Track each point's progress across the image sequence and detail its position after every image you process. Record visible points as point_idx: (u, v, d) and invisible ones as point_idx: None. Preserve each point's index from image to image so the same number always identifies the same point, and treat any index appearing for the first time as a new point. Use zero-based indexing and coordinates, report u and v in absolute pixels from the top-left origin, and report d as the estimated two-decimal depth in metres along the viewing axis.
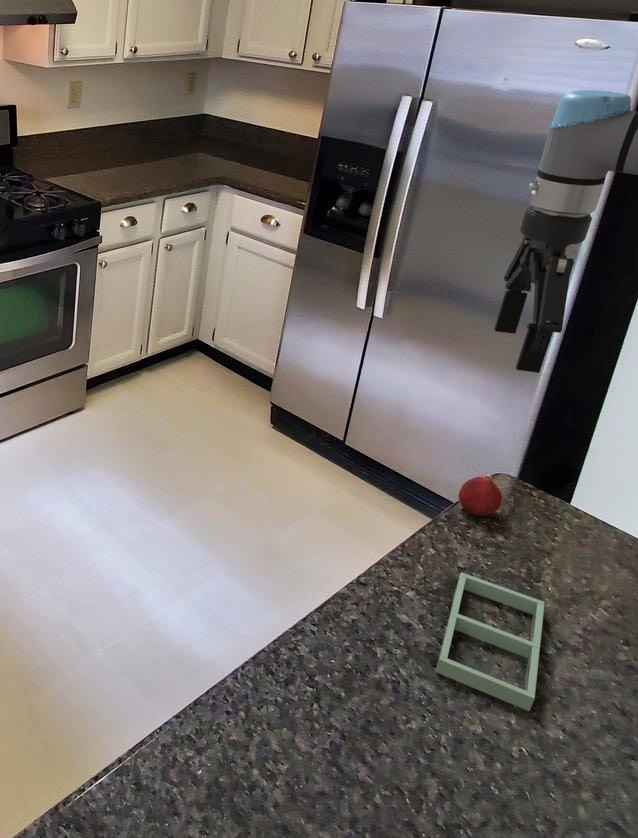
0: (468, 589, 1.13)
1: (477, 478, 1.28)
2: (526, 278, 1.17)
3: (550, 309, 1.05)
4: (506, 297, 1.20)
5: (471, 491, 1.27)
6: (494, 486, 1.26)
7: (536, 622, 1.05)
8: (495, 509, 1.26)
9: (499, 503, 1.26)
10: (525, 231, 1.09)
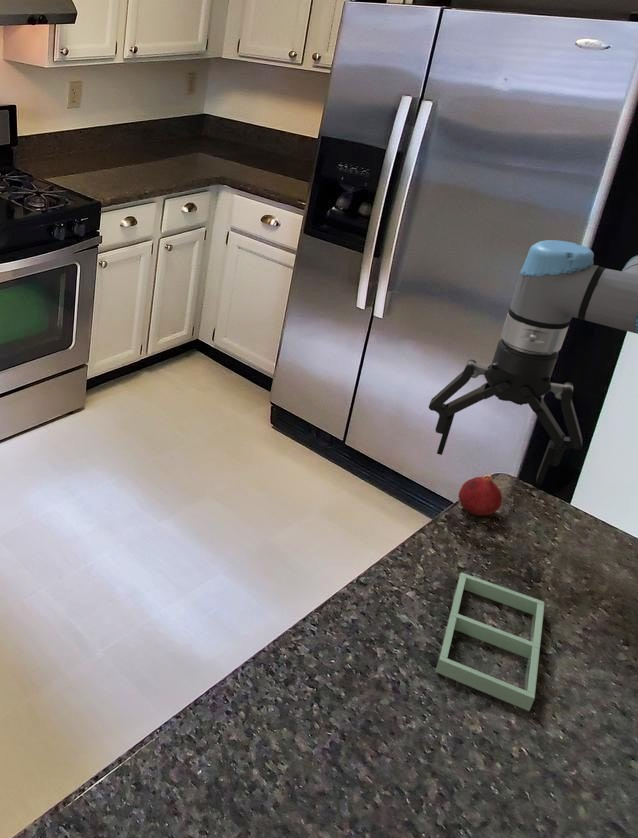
0: (468, 589, 1.13)
1: (477, 478, 1.28)
2: None
3: (578, 429, 1.17)
4: (451, 424, 1.26)
5: (471, 491, 1.27)
6: (494, 486, 1.26)
7: (536, 622, 1.05)
8: (495, 509, 1.26)
9: (499, 503, 1.26)
10: (530, 375, 1.15)
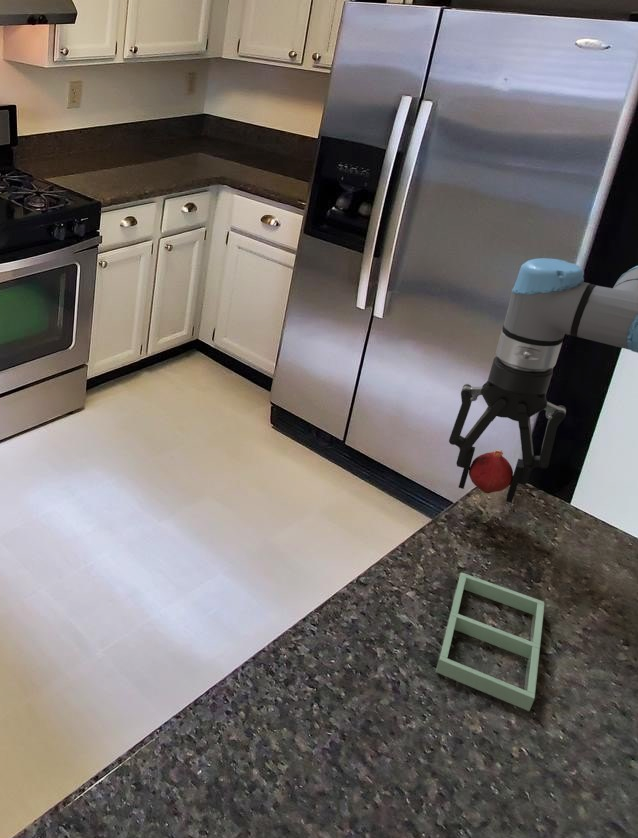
0: (468, 589, 1.13)
1: (487, 454, 1.26)
2: None
3: (551, 450, 1.20)
4: None
5: (482, 467, 1.25)
6: (505, 461, 1.24)
7: (536, 622, 1.05)
8: (506, 485, 1.24)
9: (510, 478, 1.24)
10: (526, 391, 1.16)
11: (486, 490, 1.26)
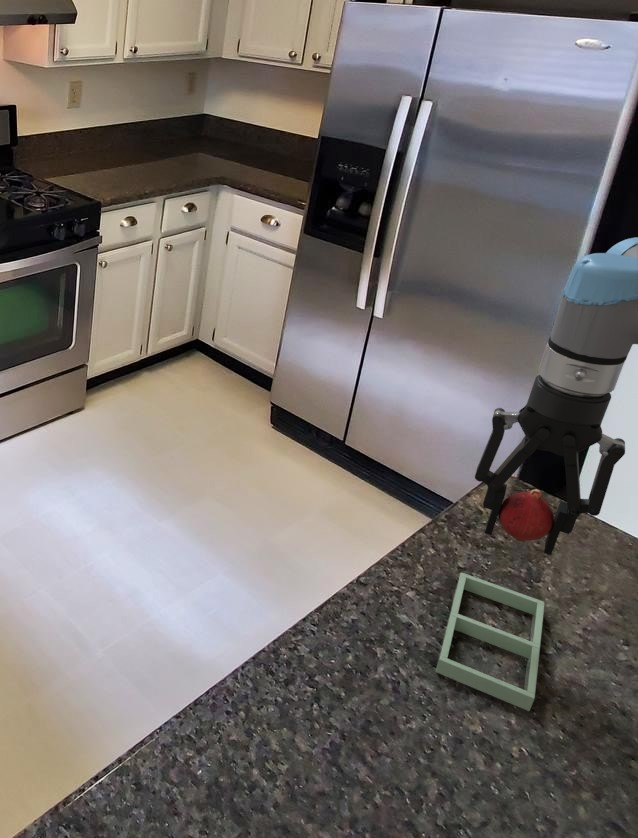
0: (468, 589, 1.13)
1: (522, 493, 1.02)
2: None
3: None
4: None
5: (515, 510, 1.01)
6: (544, 504, 1.00)
7: (536, 622, 1.05)
8: (545, 533, 1.00)
9: (551, 525, 1.00)
10: (577, 421, 0.92)
11: (519, 538, 1.02)
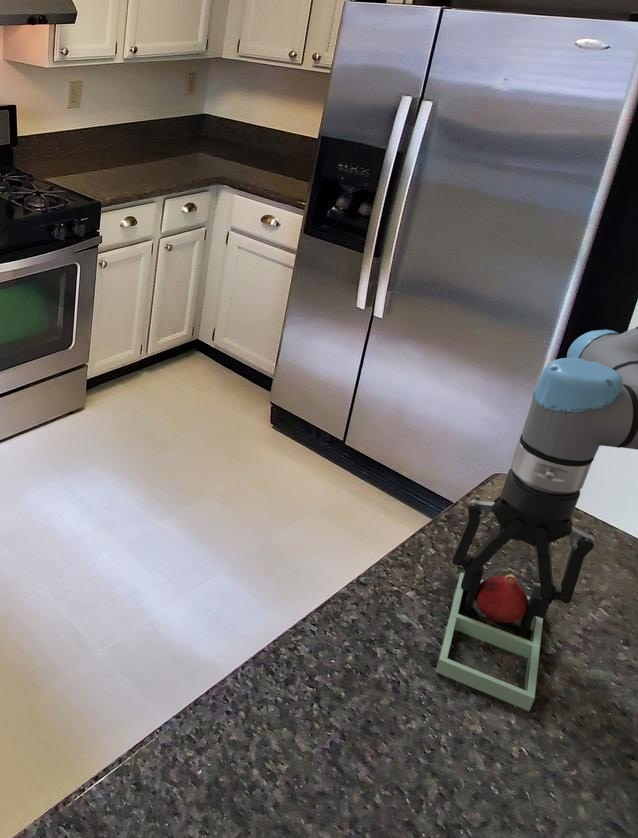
0: None
1: (498, 578, 1.06)
2: None
3: None
4: (479, 583, 1.06)
5: (491, 595, 1.05)
6: (519, 589, 1.04)
7: (536, 622, 1.05)
8: (520, 617, 1.04)
9: (525, 610, 1.04)
10: (547, 517, 0.96)
11: (495, 621, 1.06)
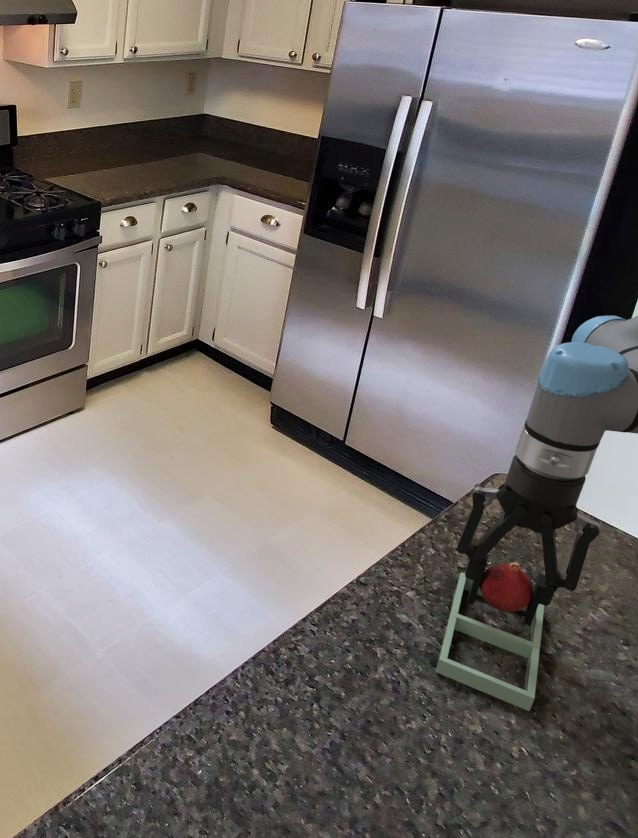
0: (468, 589, 1.13)
1: (502, 566, 1.05)
2: None
3: None
4: None
5: (496, 583, 1.04)
6: (523, 577, 1.04)
7: (536, 622, 1.05)
8: (525, 605, 1.04)
9: (530, 598, 1.03)
10: (553, 503, 0.95)
11: (500, 609, 1.05)
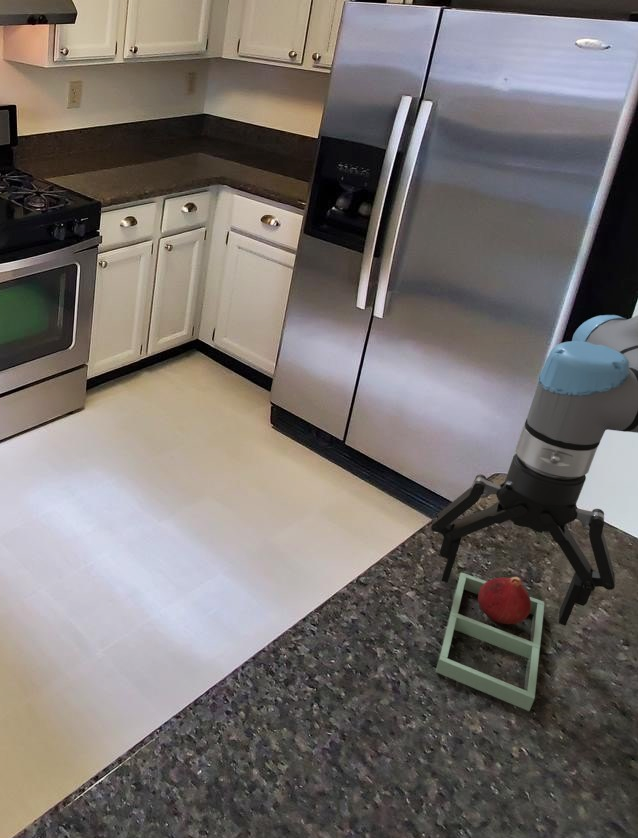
0: (468, 589, 1.13)
1: (503, 579, 1.05)
2: None
3: (610, 565, 0.97)
4: (457, 549, 1.07)
5: (495, 596, 1.05)
6: (523, 592, 1.04)
7: (536, 622, 1.05)
8: (522, 619, 1.04)
9: (527, 612, 1.04)
10: (553, 502, 0.95)
11: (497, 621, 1.06)
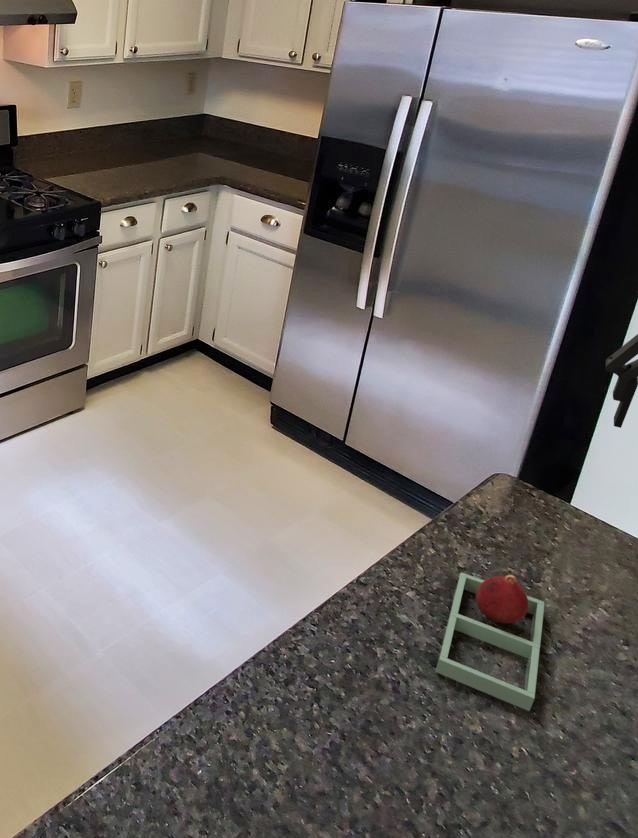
0: (468, 589, 1.13)
1: (498, 578, 1.06)
2: None
3: None
4: (635, 389, 1.02)
5: (491, 595, 1.05)
6: (519, 589, 1.04)
7: (536, 622, 1.05)
8: (520, 617, 1.04)
9: (525, 610, 1.04)
10: None
11: (495, 621, 1.06)
